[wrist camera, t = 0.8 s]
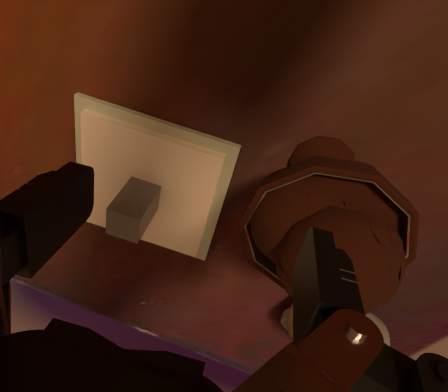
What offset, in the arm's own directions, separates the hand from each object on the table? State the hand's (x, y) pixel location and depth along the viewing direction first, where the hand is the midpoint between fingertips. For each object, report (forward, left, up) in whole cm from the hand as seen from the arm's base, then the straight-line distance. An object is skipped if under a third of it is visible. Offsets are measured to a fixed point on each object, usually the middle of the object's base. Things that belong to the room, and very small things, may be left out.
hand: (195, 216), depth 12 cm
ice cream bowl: (+6, +8, -17) cm, 20 cm away
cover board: (+14, -7, -17) cm, 22 cm away
